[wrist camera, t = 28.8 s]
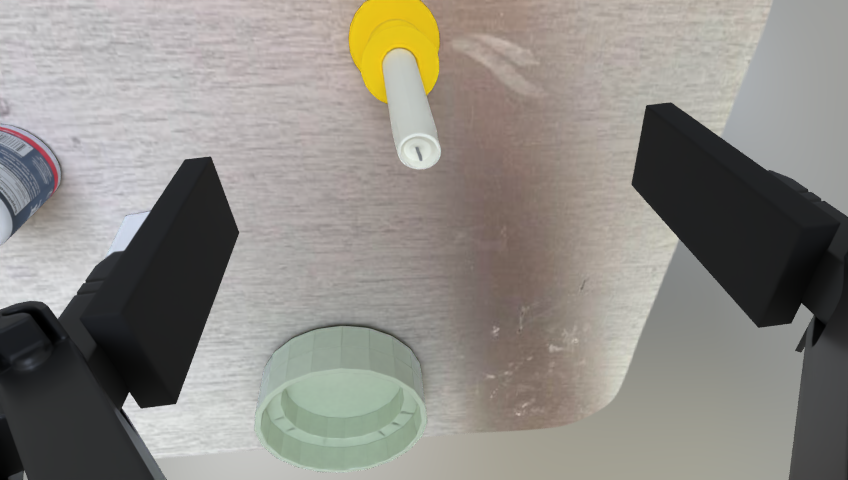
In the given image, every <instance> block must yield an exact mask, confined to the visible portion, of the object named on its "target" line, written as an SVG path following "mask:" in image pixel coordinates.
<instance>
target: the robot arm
mask: <svg viewBox="0 0 848 480" xmlns="http://www.w3.org/2000/svg"><path fill="white" fill-rule="evenodd" d="M632 186H633V187H634V188H635V189H636V190H637V192H638V193H639V194H640V195H641V196H642V197H643V198H644V199H645V201H646V202H647V203H648V204H649V205H650V206H651V207H652V208H653V210H654V211H655V212H656V213H657V214H658V215H659V216H660V217H661V219H662V220H663V221H664V222H665V223H666V224H667V225H668V226H669V228H670V229H671V230H672V231H673V232H674V233H675V234H676V235H677V237H678V238H679V239H680V240H681V241H682V242H683V243H684V244H685V246H686V247H687V248H688V249H689V250H690V251H691V252H692V253H693V255H694V256H695V257H696V258H697V259H698V260H699V261H700V262H701V264H702V265H703V266H704V267H705V268H706V269H707V270H708V271H709V273H710V274H711V275H712V276H713V277H714V278H715V279H716V280H717V282H718V283H719V284H720V285H721V286H722V287H723V288H724V289H725V291H726V292H727V293H728V294H729V295H730V296H731V297H732V298H733V300H734V301H735V302H736V303H737V304H738V305H739V306H740V307H741V309H742V310H743V311H744V312H745V313H746V314H747V315H748V316H749V318H750V319H751V320H752V321H753V322H754V323H755V324H756V325H757V327H759V328H760V327H767V326H775V325H783V324H790V323H792V321H793V319H794V317H795V314H796V313H797V311H798V309H799V307H800V305H801V303H802V304H803V305H804V306H806V307H807V308H808V309H809V310H810V311H811V312H812V313H813V314H814V316H813V318H812V319H811V322H810V323H809V325H808V327H807V329H806V331H805V333H804V335H803V337H802V339H801V340H800V343H799V344H798V346H797V348H796V350H795V351H798V352H802V350H803V349H804V347H805V352H804V360H803V369H802V376H801V384H800V392H799V401H798V409H797V417H796V426H795V434H794V442H793V450H792V458H791V466H790V475H789V480H848V217H847V216H846V215H844V214H843V213H841V212H840V211H838V210H837V209H835V208H834V207H833V206H831V205H830V204H828V203H827V202H825V201H821V198H819V197H818V196H816V195H815V194H814V193H812V192H808V189H806V188H805V187H803V186H802V185H800V184H799V183H798V182H796V181H795V180H793V179H791V178H789V177H786V176H784V175H781V174H779V173H776V172H774V171H771V170H769V171H767V170H766V169H764V168H763V167H761V166H760V165H758V164H757V163H756V162H754V161H753V160H751V159H750V158H749V157H747V156H746V155H744V154H743V153H741V152H740V151H739V150H737V149H736V148H734V147H733V146H732V145H730V144H729V143H727V142H726V141H725V140H723V139H722V138H720V137H719V136H718V135H716V134H715V133H713V132H712V131H710V130H709V129H708V128H706V127H705V126H703V125H702V124H701V123H699V122H698V121H696V120H695V119H694V118H692V117H691V116H689V115H688V114H687V113H685V112H684V111H682V110H681V109H679V108H678V107H677V106H675V105H674V104H672V103H662V104H654V105H646V109H645V115H644V120H643V125H642V131H641V136H640V142H639V147H638V152H637V158H636V163H635V169H634V174H633V179H632ZM238 234H239V231H238V228H237V225H236V223H235V220H234V217H233V215H232V212H231V209H230V207H229V204H228V201H227V198H226V196H225V193H224V190H223V188H222V185H221V182H220V180H219V177H218V174H217V171H216V169H215V166H214V163H213V161H212V158H211V157H203V158H194V159H186V160H184V162H183V163H182V165H181V166H180V168H179V169H178V171H177V172H176V174H175V175H174V177H173V178H172V180H171V181H170V183H169V184H168V186H167V187H166V189H165V190H164V192H163V193H162V195H161V196H160V198H159V199H158V201H157V202H156V204H155V205H154V207H153V208H152V210H151V211H150V213H149V214H148V216H147V217H146V219H145V220H144V222H143V223H142V225H141V226H140V228H139V229H138V231H137V232H136V234H135V235H134V237H133V238H132V240H131V241H130V243H129V244H128V246H127V247H126V249H125V250H124V251H116V252H113V253H111V254H110V255H109V256H108V257H106V258H105V259H104V260H103V261H101V262H100V263H99V264H98V265H96V266H95V268H94V269H93V271H92V272H91V273H90V275H89V276H88V278H87V279H86V280H85V281H86V283H83V285H82V286H81V287H80V289H79V290H78V292H77V295H75V296H74V297H73V299H72V300H71V301H70V303H69V304H68V306H67V307H66V308H65V310H64V311H63V313H62V314H61V315H60V317H59V318H58V319H57V318H56V317H55V315H54V314H53V312H52V311H51V310H50V308H49V307H48V306H47V305H46V304H44V303H43V302H37V301H28V302H23V303H17V304H14V305H11V306H9V307H6V308H4V309H1V310H0V480H23V473H24V470H25V473H26V475H27V478H28V480H167V479H166V478H165V476H164V475H163V473H162V471H161V470H160V468H159V466H158V465H157V463H156V461H155V460H154V458H153V456H152V455H151V453H150V452H149V450H148V448H147V447H146V445H145V443H144V442H143V440H142V439H141V437H140V435H139V434H138V432H137V430H136V429H135V427H134V426H133V424H132V422H131V421H130V419H129V417H128V416H127V415H126V413H125V412H124V410H123V409H122V406H123V404H124V402H125V400H126V398H127V395H128V393H129V392H130V393H131V395H132V396H133V398H134V399H135V401H136V402H137V404H138V405H139V407H140V408H148V407H156V406H163V405H171V404H176V403H177V400H178V397H179V394H180V392H181V389H182V386H183V384H184V381H185V378H186V375H187V373H188V370H189V367H190V365H191V362H192V359H193V356H194V354H195V351H196V348H197V346H198V343H199V340H200V337H201V335H202V332H203V329H204V327H205V324H206V321H207V318H208V316H209V313H210V310H211V308H212V305H213V302H214V299H215V297H216V294H217V291H218V289H219V286H220V283H221V281H222V278H223V275H224V272H225V270H226V267H227V264H228V262H229V259H230V256H231V253H232V251H233V248H234V245H235V243H236V240H237V237H238Z"/></svg>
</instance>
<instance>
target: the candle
mask: <svg viewBox="0 0 848 480" xmlns="http://www.w3.org/2000/svg"><path fill="white" fill-rule="evenodd" d="M439 47H440V40H439V30H438V27H437V23H436V20H435V19H434V17H433V15H432V13H431V12H430V10H429V9H428V8H427V7H426V6H425V5H424V4H423V3H422V1H421V0H367V1H366V2H364V3H363V4H362V5H361V7H360V8H359V9H358V11H357V12H356V13H355V15H354V18H353V20H352V22H351V25H350V31H349V48H350V53H351V56H352V58H353V61H354V63H355V65H356V66H357V68H358V69H359V70H360V72H361V73H362V77H363V80H364V83H365V85H366V87H367V88H368V90H369V91H370V92H371V94H373V95H374V96H375V97H376V98H377V99H378V100H380V101H382V102H384V103H386V104H388V108H389V115H390V121H391V128H392V134H393V139H394V143H395V147H396V151H397V154H398V157H399V159H400V160H401V161H402V163H403V164H405V165H406V166H408V167H410V168H413V169H426V168H429V167H431V166H433V165H434V164H435V163H437V161H438V160H439V158H440V155H441V148H440V144H439V140H438V135H437V130H436V126H435V123H434V120H433V116H432V113H431V110H430V106H429V103H428V100H427V96H426V95H427V94H428V93H429V92H430V91H431V90H432V88H433V87H434V85H435V83H436V81H437V77H438V73H439V58H438V51H439Z"/></svg>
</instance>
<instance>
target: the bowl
mask: <svg viewBox="0 0 848 480" xmlns="http://www.w3.org/2000/svg"><path fill="white" fill-rule="evenodd" d="M426 424H427V413H426V405H425V398H424V390H423V382H422V375H421V367H420V363H419V361H418V360H417V358H416V357H415V355H414V354H413V352H412V351H411V349H409V347H407V346H406V345H404V344H403V343H401V342H400V341H399V340H397V339H396V338H394V337H392V336H391V335H388V334H385V333H382V332H379V331H376V330H373V329H369V328H363V327H352V326H337V327H329V328H322V329H316V330H313V331H310V332H308V333H305V334H302V335H300V336H297V337H295V338H292V339H291V340H290V341H288V342H287V343H286V344H284V345H283V346H282V347H280V348H279V349H278V350H277V351H275V352H274V353H273V355H272V357H271V358H270V360H269V362H268V363H267V365H266V366H265V368H264V372H263V377H262V382H261V387H260V392H259V397H258V402H257V407H256V412H255V425H254V430H255V432H256V434H257V437H258V439H259V441H260V443H261V445H262V446H263V447H264V448H265V449H266V450H268V451H269V452H270V453H271V454H272V455H274V456H275V457H276V458H278V459H280V460H282V461H284V462H286V463H289V464H291V465H293V466H295V467H298V468H303V469H308V470H313V471H317V472H342V473H344V472H352V471H359V470H365V469H370V468H373V467H376V466H379V465H382V464H385V463H388V462H390V461H392V460H394V459H396V458H397V457H399V456H401V455H402V454H404V453H406V452H407V451H409V450H410V449H411V448H412V447H413V445H414V444H415V443H416V442H417V441H418V440H419V439H420V438H421V437H422V434H423V432H424V429H425V426H426Z"/></svg>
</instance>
